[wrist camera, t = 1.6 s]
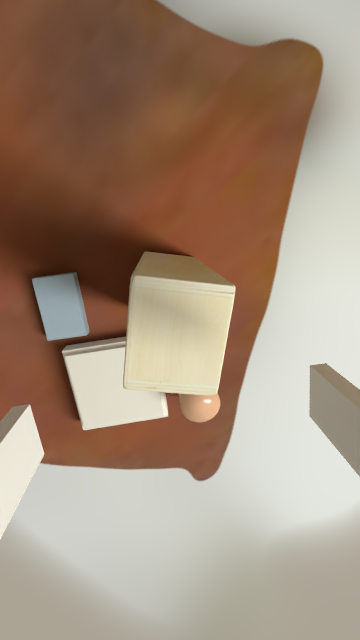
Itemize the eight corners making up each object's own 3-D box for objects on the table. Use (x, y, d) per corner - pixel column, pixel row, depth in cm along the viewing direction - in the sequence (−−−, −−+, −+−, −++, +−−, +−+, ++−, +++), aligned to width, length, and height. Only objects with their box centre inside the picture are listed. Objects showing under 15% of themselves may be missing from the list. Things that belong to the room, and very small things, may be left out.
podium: (66, 345, 41) (59, 353, 38) (154, 331, 41) (154, 338, 38) (86, 421, 44) (81, 433, 41) (167, 408, 44) (168, 419, 42)
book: (37, 276, 38) (31, 279, 37) (77, 271, 39) (72, 273, 37) (53, 335, 41) (47, 340, 39) (90, 330, 41) (86, 335, 39)
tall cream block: (193, 317, 41) (226, 398, 21) (138, 311, 40) (118, 390, 20) (201, 257, 39) (248, 284, 19) (144, 250, 38) (128, 270, 18)
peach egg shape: (175, 369, 43) (177, 390, 37) (209, 363, 43) (218, 383, 37) (180, 400, 44) (183, 424, 38) (213, 394, 44) (222, 418, 39)
